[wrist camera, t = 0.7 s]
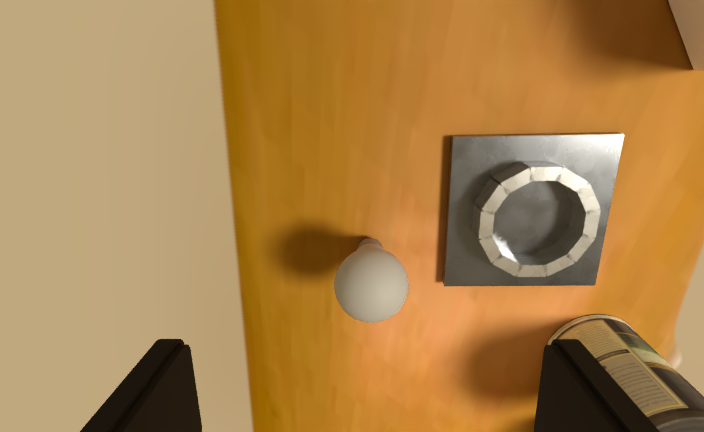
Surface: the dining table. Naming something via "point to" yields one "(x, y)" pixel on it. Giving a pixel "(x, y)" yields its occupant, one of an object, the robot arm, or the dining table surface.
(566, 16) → the dining table surface
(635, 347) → the coffee can
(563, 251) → the ring collar
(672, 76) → the dining table surface
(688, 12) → the milk carton
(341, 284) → the lightbulb
